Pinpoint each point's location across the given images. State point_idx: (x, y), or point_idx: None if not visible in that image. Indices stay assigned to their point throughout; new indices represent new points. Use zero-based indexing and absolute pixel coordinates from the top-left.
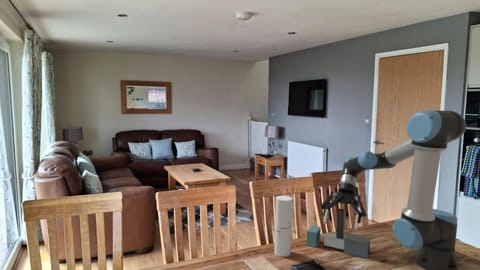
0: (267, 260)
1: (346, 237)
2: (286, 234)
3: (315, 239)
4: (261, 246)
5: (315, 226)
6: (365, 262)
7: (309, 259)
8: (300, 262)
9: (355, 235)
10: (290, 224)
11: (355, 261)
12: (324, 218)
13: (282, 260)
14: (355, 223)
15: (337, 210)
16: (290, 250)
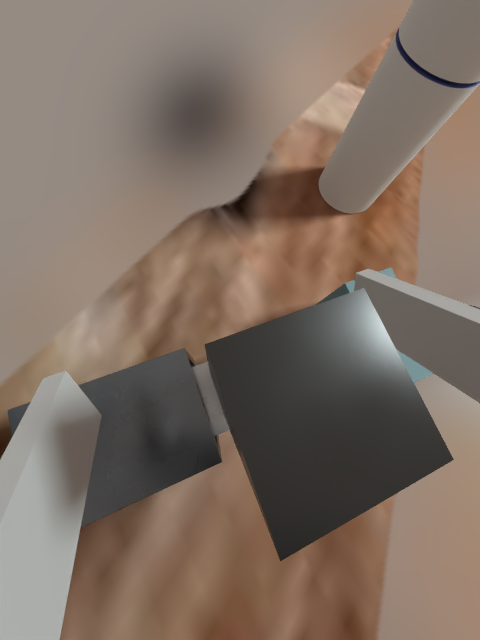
0: (331, 126)
1: (181, 372)
2: (373, 76)
3: (327, 297)
4: (417, 178)
5: (421, 369)
6: (72, 356)
7: (255, 212)
8: (261, 176)
9: (149, 469)
10: (416, 21)
11: (114, 329)
12: (395, 281)
13: (306, 152)
14: (42, 417)
15: (361, 291)
16: (330, 188)
